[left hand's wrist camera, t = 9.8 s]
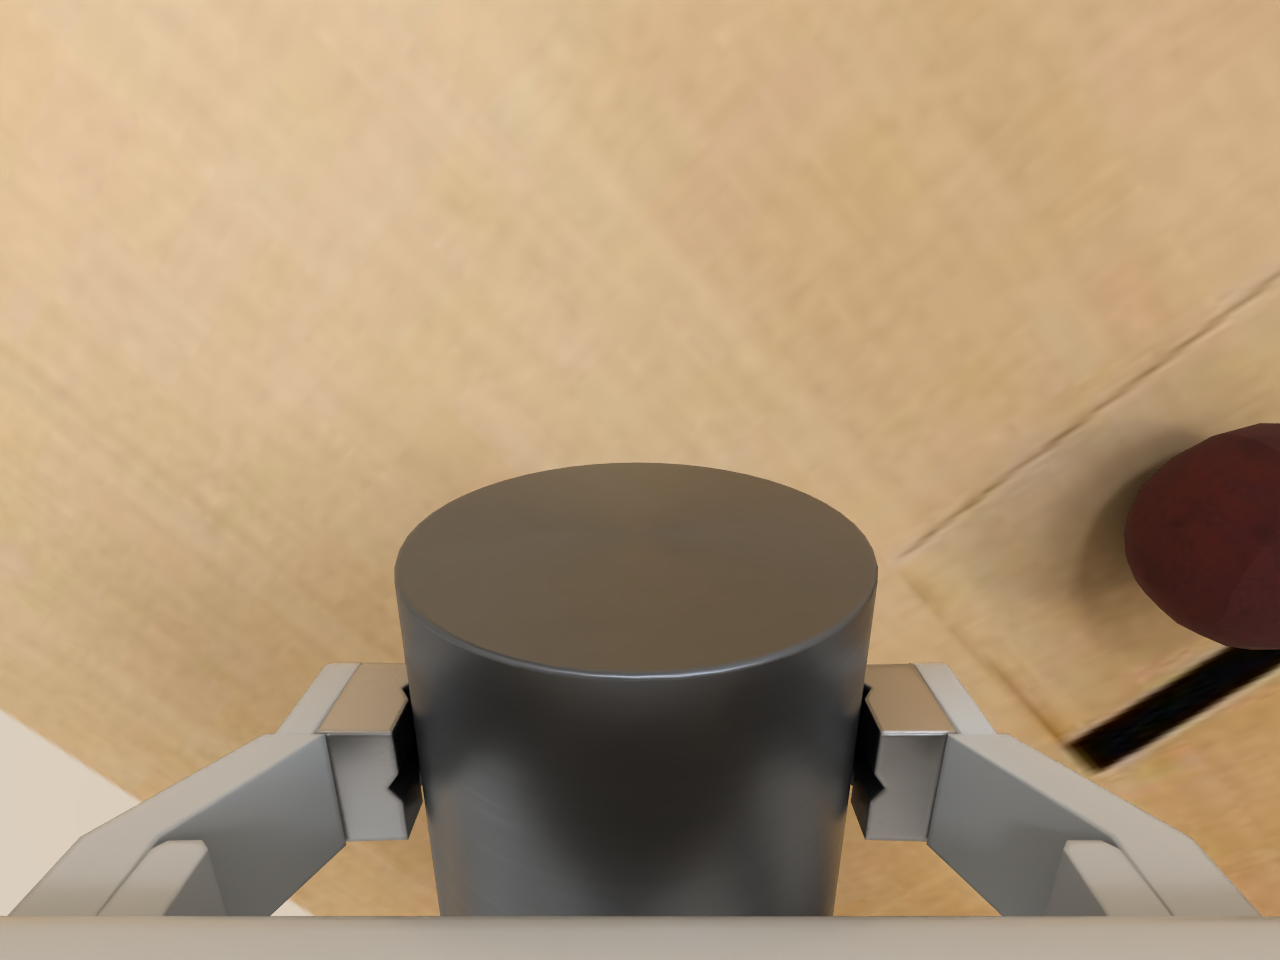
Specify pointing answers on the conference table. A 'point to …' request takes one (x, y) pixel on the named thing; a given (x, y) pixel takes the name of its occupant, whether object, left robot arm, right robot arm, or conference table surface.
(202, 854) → the left robot arm
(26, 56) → the conference table surface
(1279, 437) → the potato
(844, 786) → the rod
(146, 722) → the conference table surface
